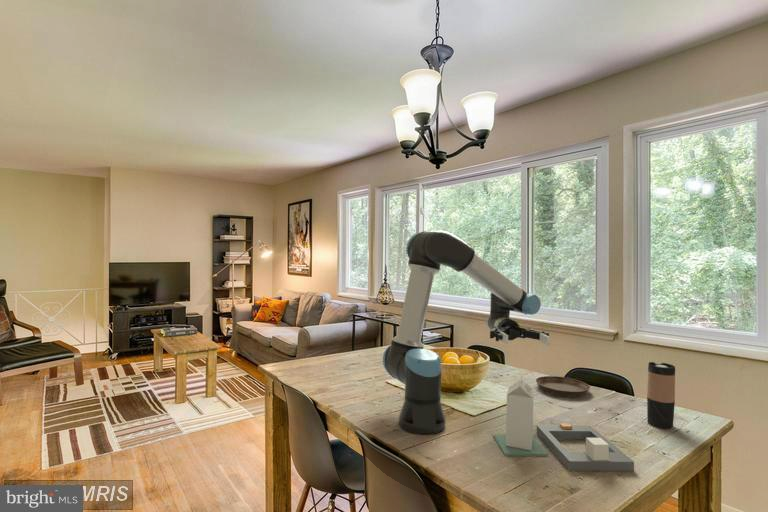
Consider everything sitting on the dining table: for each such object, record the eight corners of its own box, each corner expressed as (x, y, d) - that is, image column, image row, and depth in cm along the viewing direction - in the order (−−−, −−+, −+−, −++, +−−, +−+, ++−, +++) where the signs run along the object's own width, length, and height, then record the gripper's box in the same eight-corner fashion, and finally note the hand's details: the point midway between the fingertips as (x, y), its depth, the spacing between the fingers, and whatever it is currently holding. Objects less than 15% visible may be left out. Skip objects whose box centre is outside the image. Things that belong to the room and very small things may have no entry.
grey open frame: (569, 470, 107) (569, 445, 107) (536, 433, 129) (537, 411, 129) (633, 471, 107) (634, 445, 107) (590, 433, 129) (590, 412, 129)
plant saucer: (544, 379, 184) (545, 372, 184) (595, 390, 171) (595, 382, 171) (528, 391, 168) (528, 383, 168) (582, 403, 155) (582, 395, 155)
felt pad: (505, 455, 114) (505, 453, 114) (492, 436, 126) (493, 434, 126) (547, 456, 114) (547, 454, 114) (531, 436, 126) (531, 434, 126)
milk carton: (505, 446, 118) (506, 381, 118) (507, 436, 125) (509, 374, 125) (531, 451, 116) (533, 384, 115) (532, 440, 122) (533, 377, 122)
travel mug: (665, 431, 132) (667, 369, 132) (641, 422, 139) (643, 363, 138) (678, 426, 135) (680, 366, 135) (654, 418, 142) (656, 360, 142)
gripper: (539, 339, 154) (565, 353, 133) (473, 337, 153) (489, 350, 132) (540, 319, 154) (566, 330, 133) (474, 317, 153) (489, 327, 132)
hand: (527, 340), depth 132 cm, fingers open, 13 cm apart
